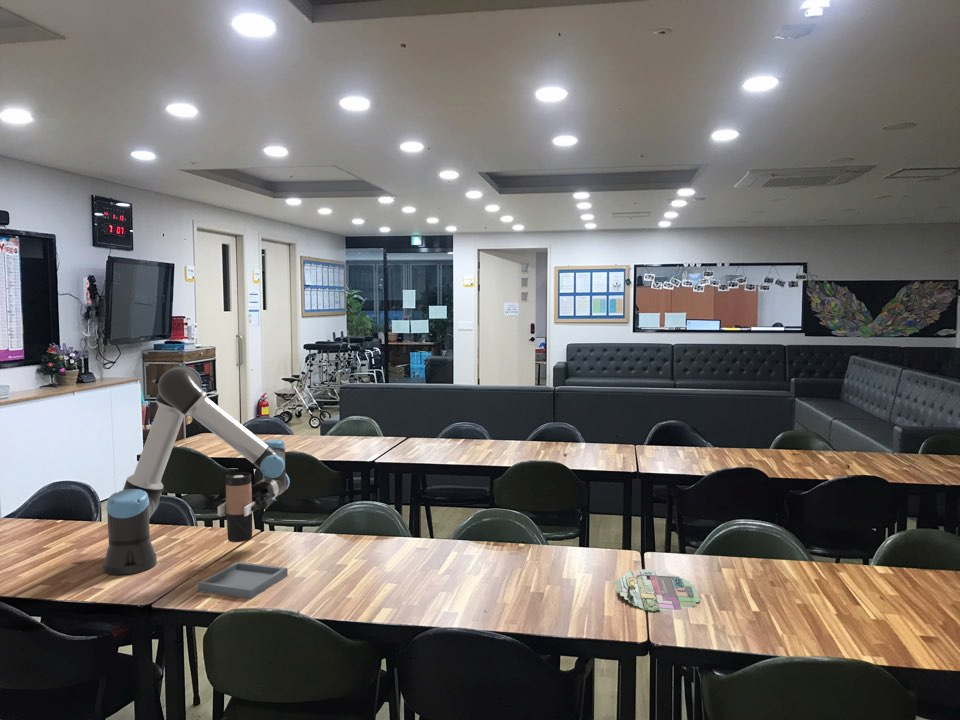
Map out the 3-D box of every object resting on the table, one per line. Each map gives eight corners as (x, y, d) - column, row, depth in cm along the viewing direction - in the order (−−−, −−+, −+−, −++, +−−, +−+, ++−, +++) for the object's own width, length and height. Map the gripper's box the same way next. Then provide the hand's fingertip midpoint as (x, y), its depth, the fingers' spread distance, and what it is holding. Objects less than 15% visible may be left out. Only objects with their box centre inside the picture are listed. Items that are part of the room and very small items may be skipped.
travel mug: (248, 542, 215) (246, 478, 214) (223, 542, 215) (221, 478, 213) (256, 534, 223) (254, 472, 221) (232, 534, 222) (230, 472, 221)
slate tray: (197, 591, 203) (197, 582, 202) (237, 569, 220) (237, 561, 220) (251, 599, 197) (251, 590, 197) (287, 576, 214) (287, 567, 214)
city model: (636, 627, 184) (638, 605, 183) (597, 583, 206) (598, 564, 205) (718, 616, 191) (721, 596, 190) (672, 575, 213) (674, 557, 212)
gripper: (292, 503, 235) (264, 524, 212) (234, 502, 237) (200, 522, 214) (292, 481, 234) (264, 500, 212) (233, 480, 237) (199, 498, 214)
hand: (232, 511), depth 213 cm, fingers closed on travel mug, 8 cm apart
